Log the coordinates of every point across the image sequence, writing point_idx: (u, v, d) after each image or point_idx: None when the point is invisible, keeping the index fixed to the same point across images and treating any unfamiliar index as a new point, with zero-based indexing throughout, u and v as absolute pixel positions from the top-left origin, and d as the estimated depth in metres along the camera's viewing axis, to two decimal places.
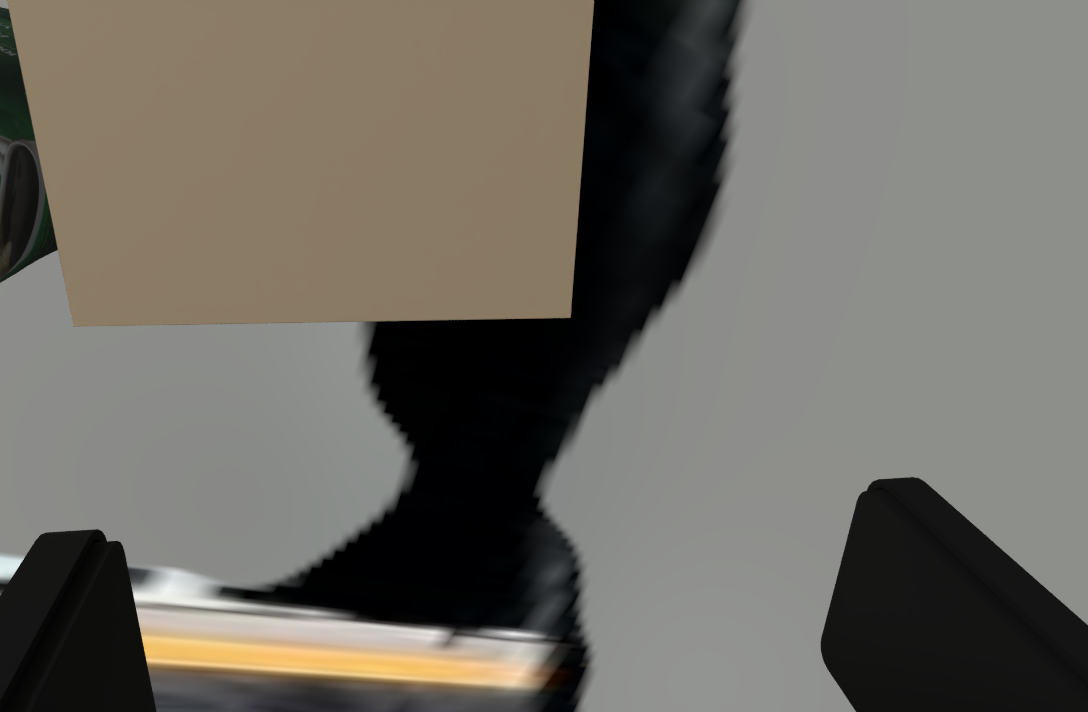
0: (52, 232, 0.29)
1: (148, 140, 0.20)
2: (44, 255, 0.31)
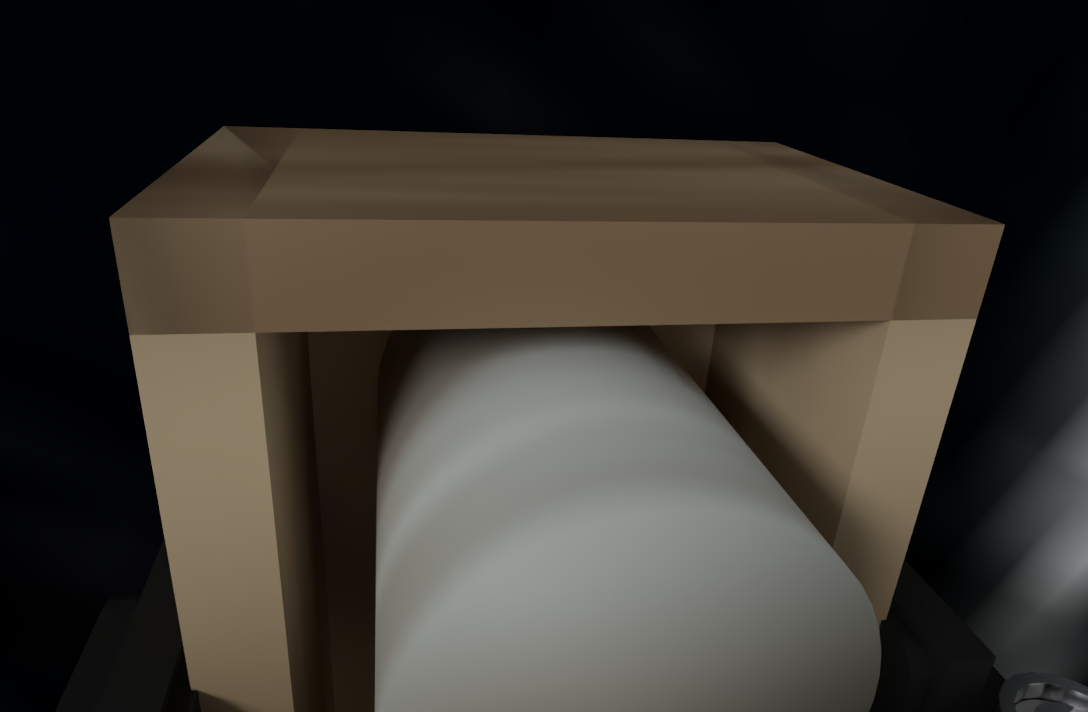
0: None
1: None
2: None
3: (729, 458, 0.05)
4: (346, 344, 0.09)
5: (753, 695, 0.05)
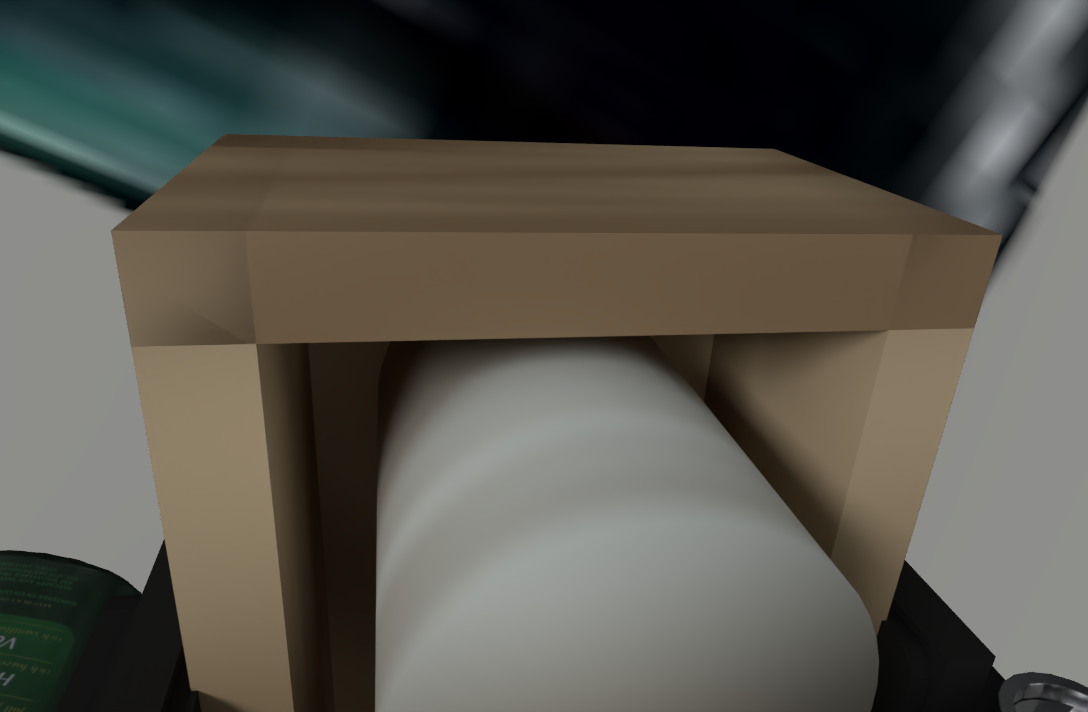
0: None
1: None
2: None
3: (727, 469, 0.05)
4: (346, 351, 0.09)
5: (752, 705, 0.05)
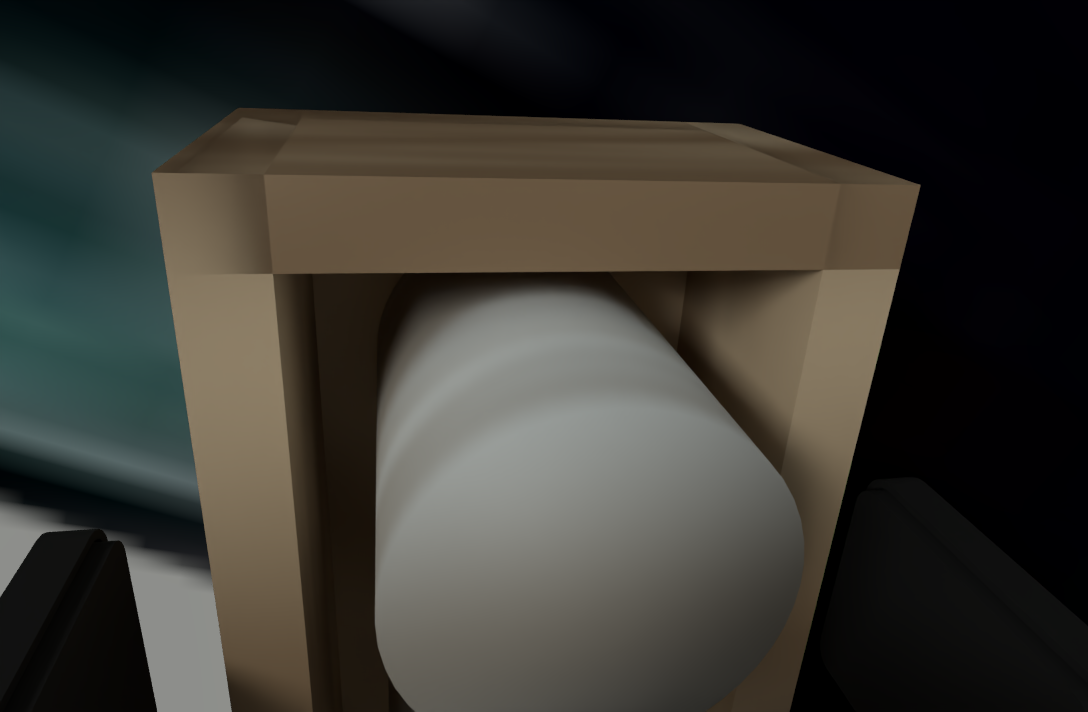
0: None
1: None
2: None
3: (675, 378, 0.06)
4: (348, 305, 0.10)
5: (695, 577, 0.06)
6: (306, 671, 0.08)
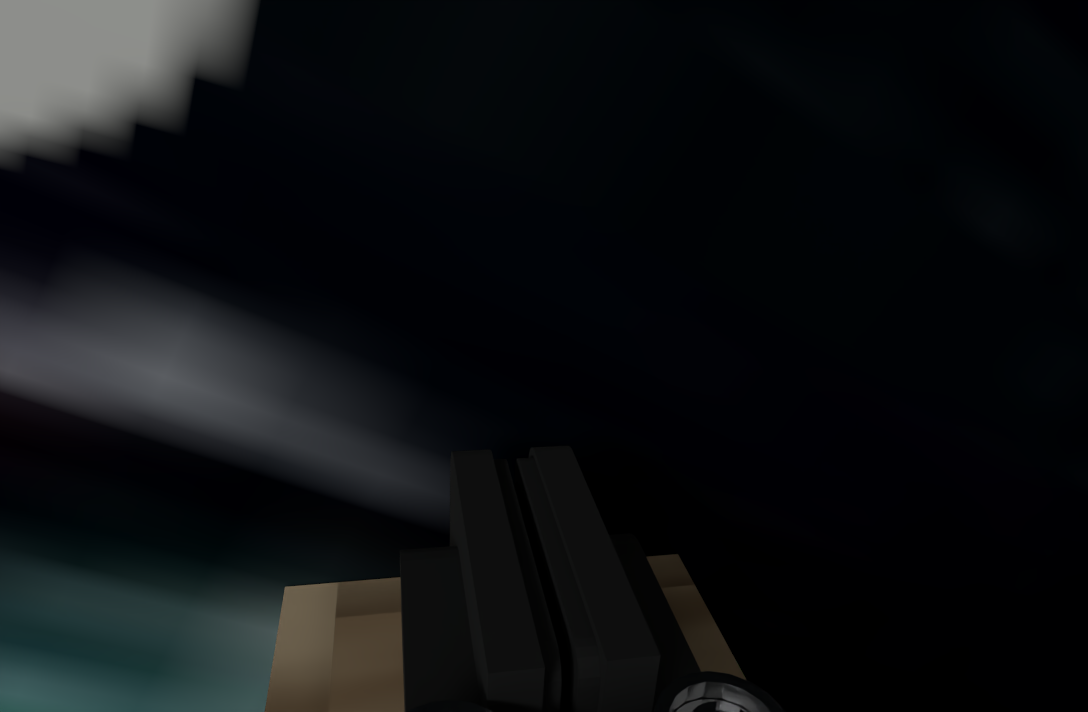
0: None
1: None
2: None
3: None
4: None
5: None
6: None
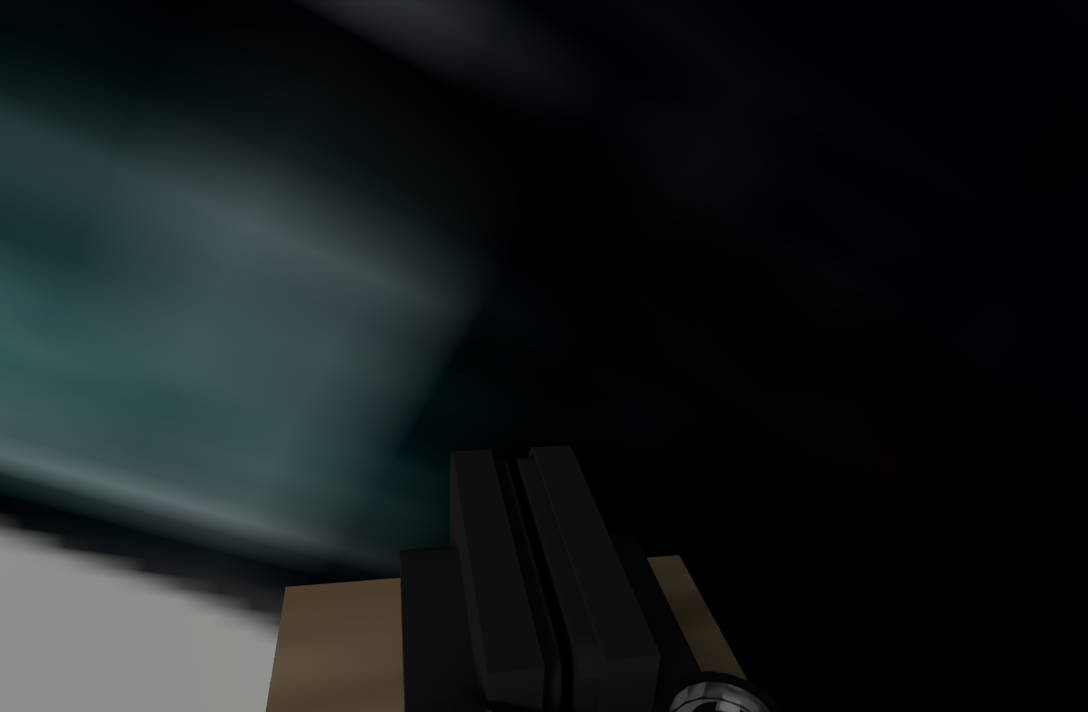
0: None
1: None
2: None
3: None
4: None
5: None
6: None
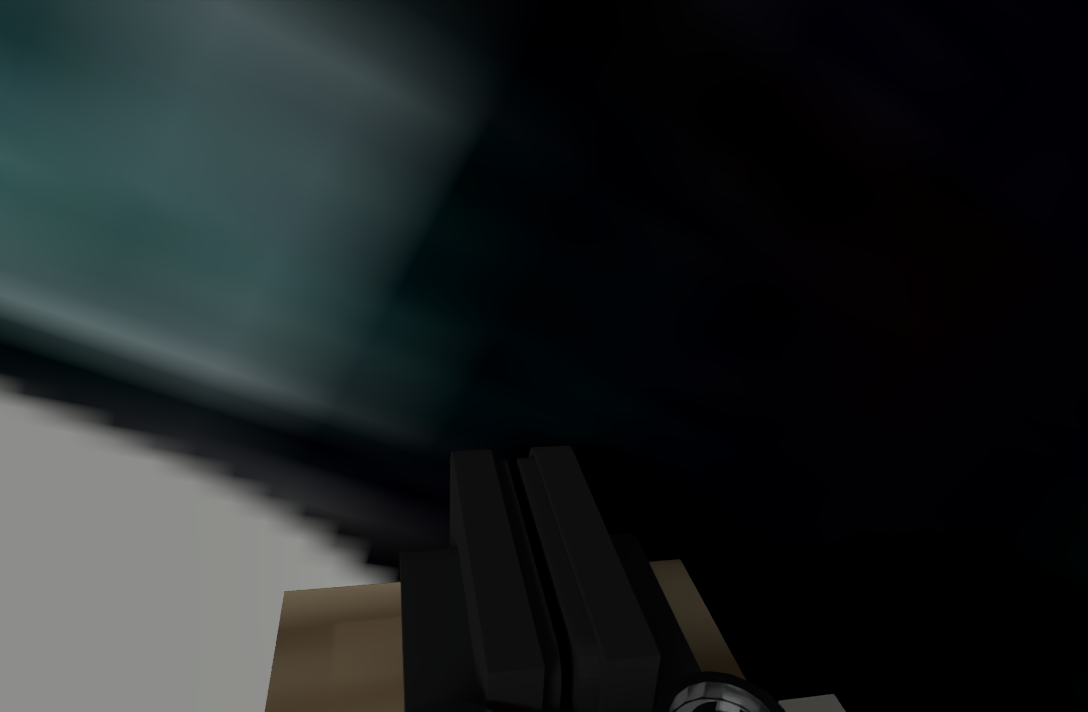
0: None
1: None
2: None
3: None
4: None
5: None
6: None
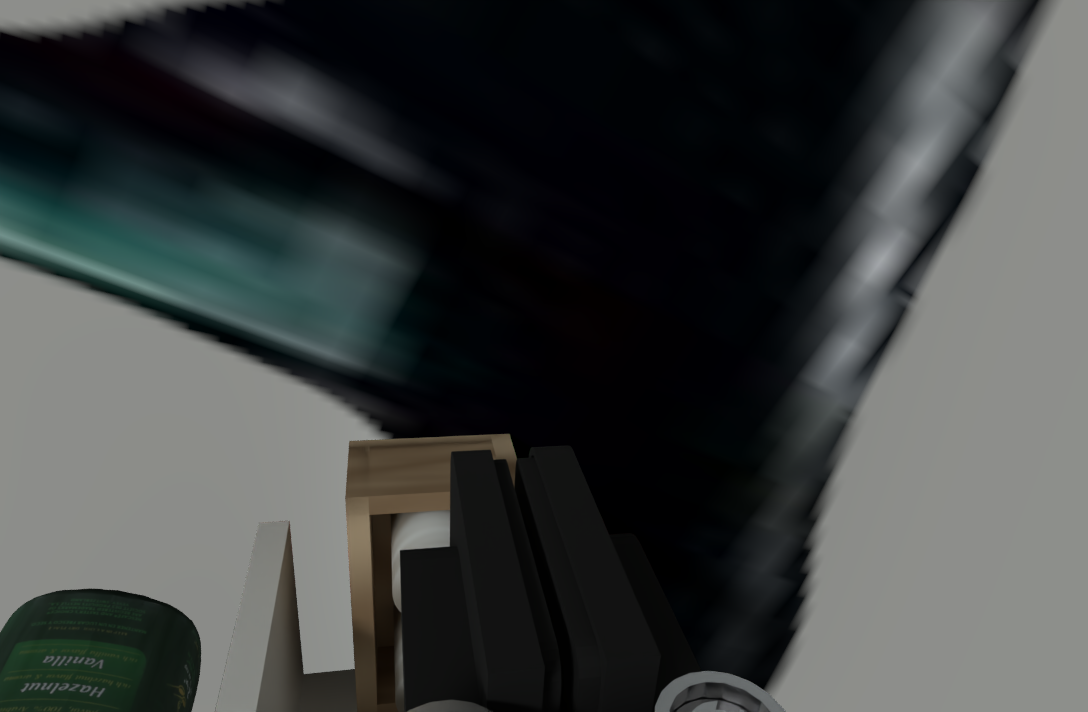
0: None
1: None
2: None
3: None
4: None
5: None
6: (372, 607, 0.30)
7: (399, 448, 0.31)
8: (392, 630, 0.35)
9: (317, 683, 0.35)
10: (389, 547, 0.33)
